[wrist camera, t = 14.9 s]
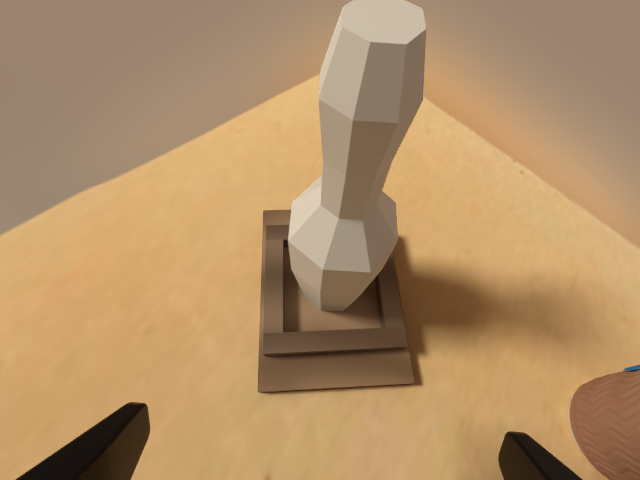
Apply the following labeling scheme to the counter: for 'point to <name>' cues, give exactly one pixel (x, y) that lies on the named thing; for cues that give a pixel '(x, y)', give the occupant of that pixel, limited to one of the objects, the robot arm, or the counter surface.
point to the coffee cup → (609, 423)
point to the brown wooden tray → (326, 327)
